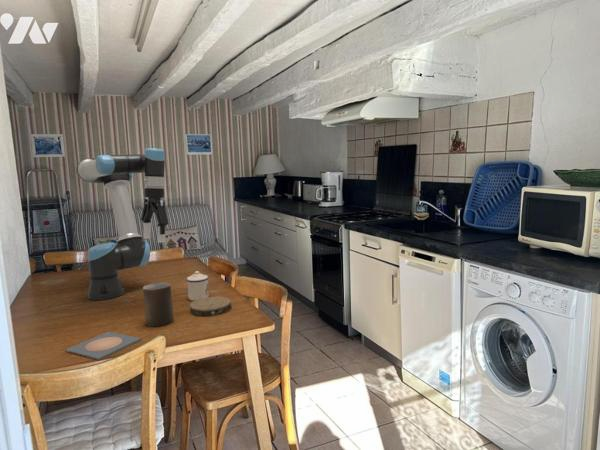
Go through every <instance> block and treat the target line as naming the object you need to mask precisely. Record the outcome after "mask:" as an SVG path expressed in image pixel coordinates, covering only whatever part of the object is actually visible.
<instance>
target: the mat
mask: <svg viewBox="0 0 600 450" xmlns="http://www.w3.org/2000/svg"><path fill="white" fill-rule="evenodd" d="M140 341H142V338H141V337H136V336H132V335H127V334H123V333H118V332H113V331H107V332H103V333H102V334H99V335H97V336H95V337H92V338H90V339H87V340H85V341H82V342H79V343H78V344H76V345H72V346H69V348H66V349H64V352H65V351H69V352H72V353H71V354H73V353H76V354H79V355H78V356H80V355H82V356H81V357H84V356H86V357H85V358H88V357H89V359H93V360H96V361H100V360H102V359H105V358H107V357H109V356H111V355H113V354H115V353H118V352H119V351H122V350H124V349H126V348H128V347H130V346H132V345H134V344H136V343H138V342H140ZM69 352H68V353H69ZM76 354H75V355H76Z"/></svg>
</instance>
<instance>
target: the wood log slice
mask: <svg viewBox="0 0 600 450" xmlns="http://www.w3.org/2000/svg"><path fill="white" fill-rule="evenodd" d="M231 300H232V299H230V298H228V297H224V296H209V297H207V298H202V299H198V300H196V301H192V302H191V303H189V310H190V314H191V315H192V316H195V317H214V316H219V315H223V314H226V313H228V312H229V311H231V310H232V301H231Z"/></svg>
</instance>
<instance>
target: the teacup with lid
mask: <svg viewBox="0 0 600 450" xmlns="http://www.w3.org/2000/svg"><path fill="white" fill-rule="evenodd" d="M208 279H209V276H208V275H207V274H203V273H200V271H198V270H197V271H195V272H194V273H193V274H191V275H189V276H188V277H187V278H186V284H187V294H188V299H189V300H190V301H192V302H194V301H196V300H198V299H202V298H207V297H210V290H209V280H208Z"/></svg>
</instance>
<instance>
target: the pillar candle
mask: <svg viewBox="0 0 600 450" xmlns="http://www.w3.org/2000/svg"><path fill="white" fill-rule="evenodd" d="M171 288H172V287H171V283H170V282H155V283H150V284H147V285H144V286H143V288H142V291H143V302H144V304H143V305H144V316H145V324H146V325H147V326H149V327H162V326H167V325H169V324H171V323H173V322H174V309H173V298H172V297H173V296H172V289H171Z"/></svg>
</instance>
